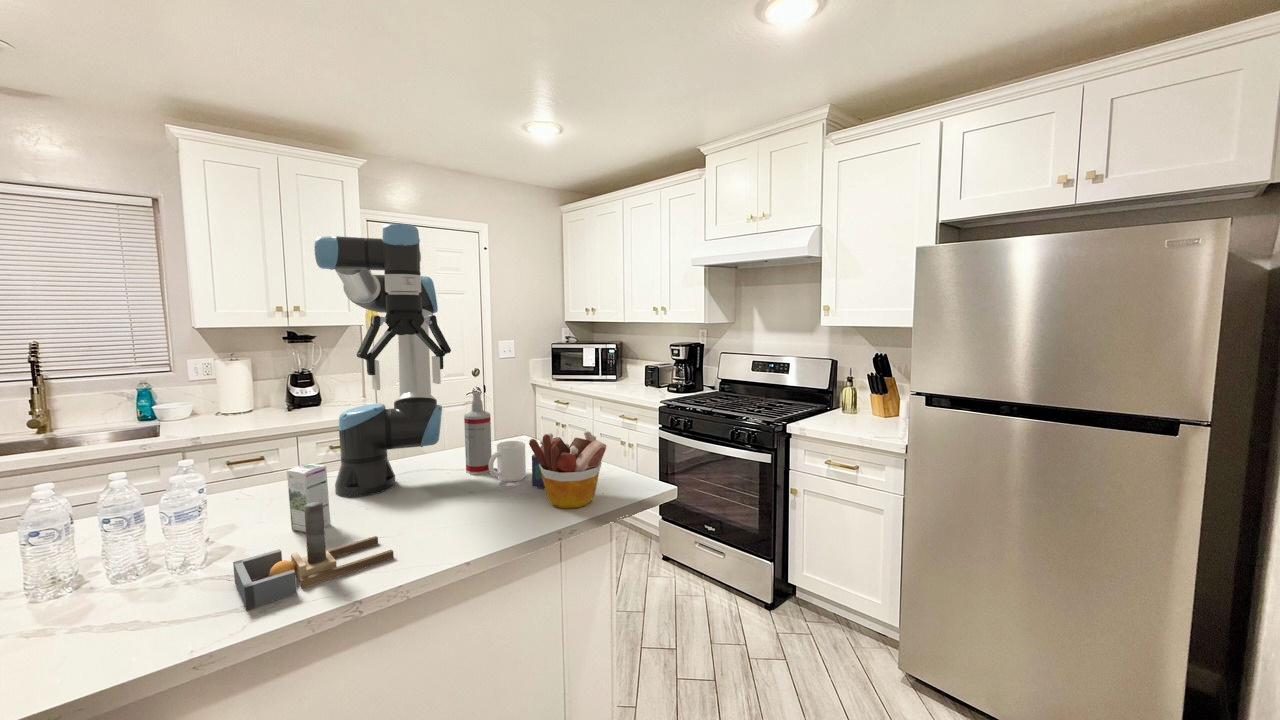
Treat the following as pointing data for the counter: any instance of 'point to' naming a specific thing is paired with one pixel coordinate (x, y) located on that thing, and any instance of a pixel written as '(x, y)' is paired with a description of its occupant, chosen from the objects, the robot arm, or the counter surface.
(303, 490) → the syrup box
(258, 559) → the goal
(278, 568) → the ball
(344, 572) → the rails
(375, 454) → the robot arm
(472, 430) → the spray bottle
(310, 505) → the carriage
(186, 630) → the counter surface
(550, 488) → the bucket of meat
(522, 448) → the mug
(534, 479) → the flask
